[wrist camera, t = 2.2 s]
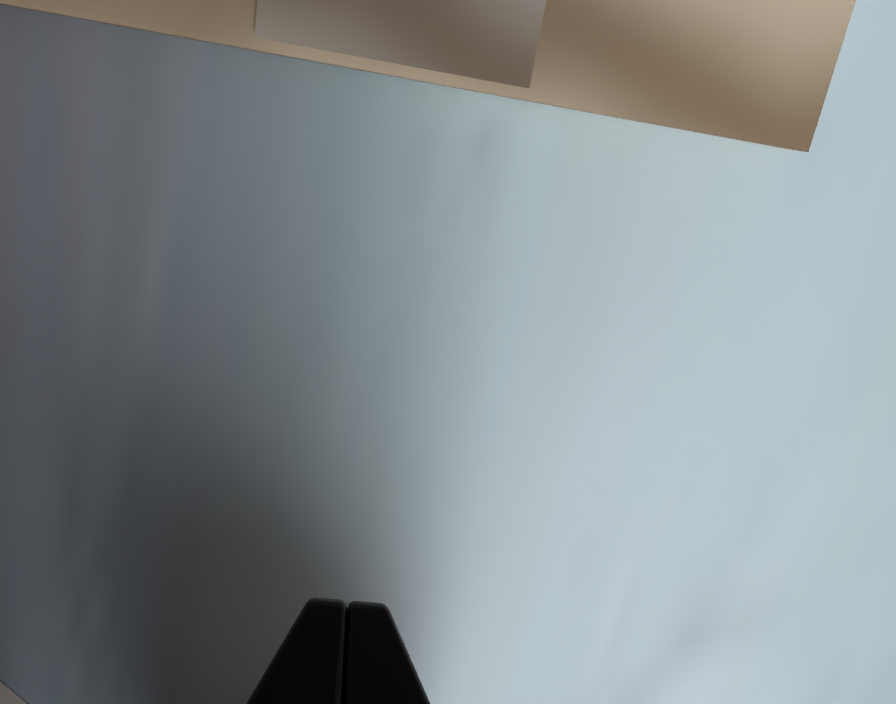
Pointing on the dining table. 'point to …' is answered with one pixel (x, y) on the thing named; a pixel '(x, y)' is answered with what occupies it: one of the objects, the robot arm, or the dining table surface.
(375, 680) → the robot arm
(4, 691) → the french press
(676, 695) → the dining table surface
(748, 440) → the dining table surface
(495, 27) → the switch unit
